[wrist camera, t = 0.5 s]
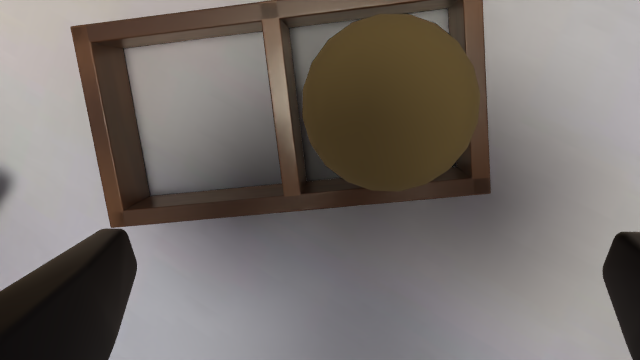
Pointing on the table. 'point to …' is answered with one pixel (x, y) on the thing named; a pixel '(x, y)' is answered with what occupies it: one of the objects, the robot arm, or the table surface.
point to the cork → (391, 102)
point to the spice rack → (295, 191)
